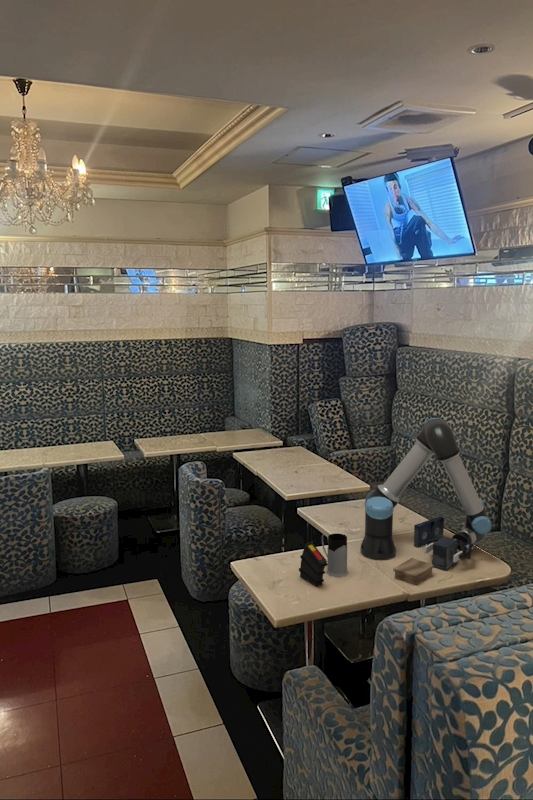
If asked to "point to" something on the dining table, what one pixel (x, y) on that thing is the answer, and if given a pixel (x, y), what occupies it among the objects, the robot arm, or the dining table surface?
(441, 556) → the small box
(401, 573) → the walnut stand
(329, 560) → the glass holder
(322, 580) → the magazine
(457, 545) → the robot arm
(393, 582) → the dining table surface
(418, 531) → the vhs cassette tape
